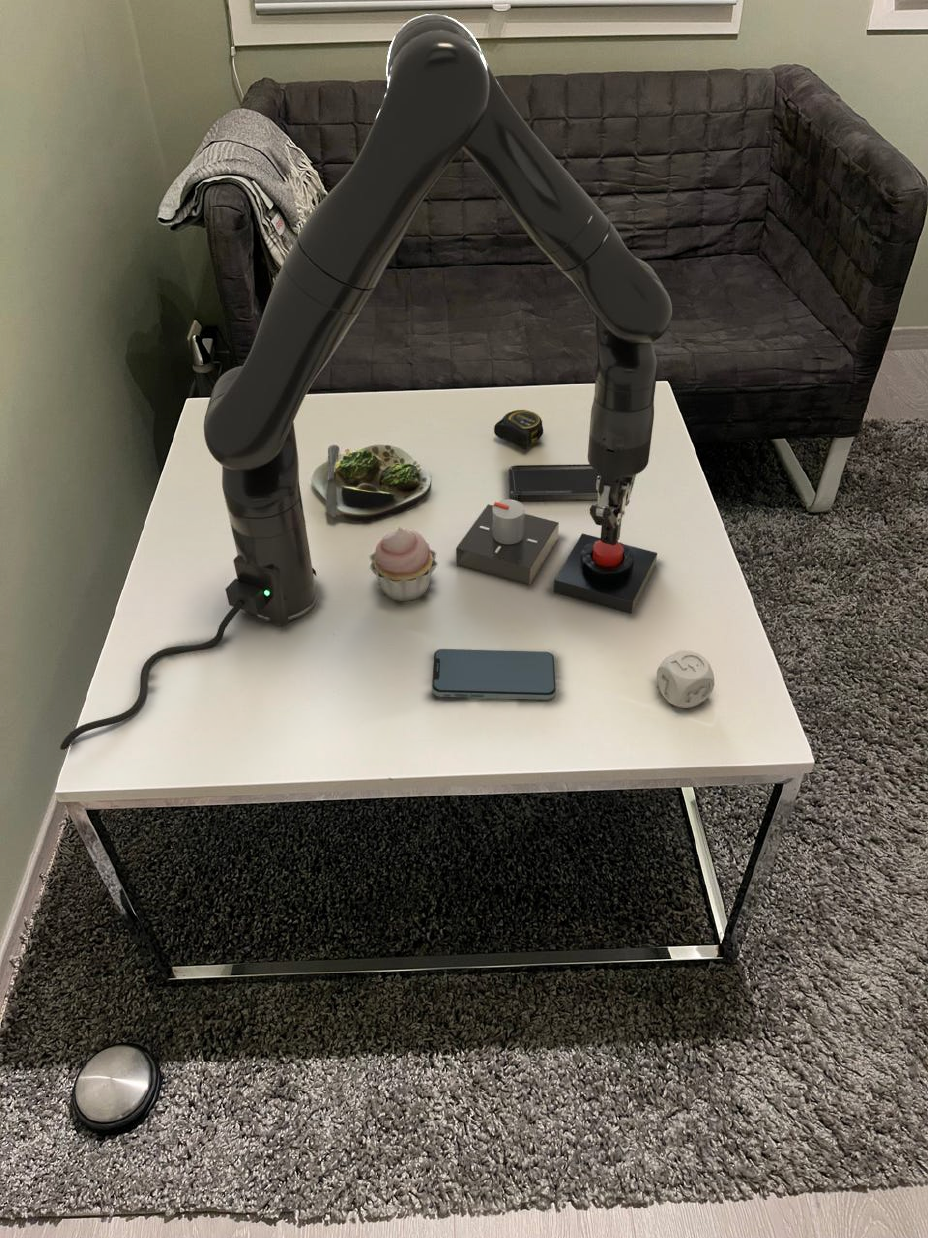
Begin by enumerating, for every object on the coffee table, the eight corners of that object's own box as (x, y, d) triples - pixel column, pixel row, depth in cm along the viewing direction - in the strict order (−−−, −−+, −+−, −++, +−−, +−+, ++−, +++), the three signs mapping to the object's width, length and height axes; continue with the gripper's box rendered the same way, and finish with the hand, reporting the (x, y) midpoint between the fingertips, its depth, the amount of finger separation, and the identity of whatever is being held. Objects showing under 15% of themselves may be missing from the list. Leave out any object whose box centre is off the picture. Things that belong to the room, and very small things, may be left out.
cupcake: (428, 558, 143) (424, 501, 136) (447, 600, 136) (445, 542, 129) (363, 572, 141) (357, 515, 134) (380, 616, 134) (374, 558, 127)
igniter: (631, 614, 134) (634, 591, 131) (553, 592, 137) (554, 569, 134) (655, 564, 141) (659, 542, 138) (581, 544, 144) (582, 522, 142)
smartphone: (556, 694, 122) (431, 691, 122) (555, 703, 123) (431, 700, 123) (553, 649, 127) (434, 646, 127) (552, 659, 128) (434, 656, 128)
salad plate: (285, 470, 159) (281, 445, 156) (386, 436, 165) (384, 412, 162) (339, 536, 147) (335, 510, 144) (445, 496, 153) (444, 471, 150)
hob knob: (529, 530, 142) (530, 502, 139) (515, 548, 139) (515, 520, 136) (501, 521, 144) (501, 494, 140) (486, 538, 141) (486, 511, 138)
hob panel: (529, 585, 138) (530, 567, 136) (456, 564, 142) (455, 547, 139) (558, 538, 145) (559, 521, 143) (487, 520, 149) (487, 502, 147)
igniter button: (616, 570, 135) (618, 560, 133) (588, 563, 136) (589, 553, 135) (626, 553, 137) (627, 543, 136) (598, 545, 138) (599, 535, 137)
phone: (508, 465, 157) (605, 463, 157) (508, 471, 158) (604, 469, 157) (510, 495, 151) (610, 494, 151) (510, 501, 152) (610, 500, 152)
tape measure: (491, 440, 164) (491, 420, 162) (519, 422, 168) (519, 403, 165) (523, 456, 161) (524, 436, 158) (551, 438, 164) (552, 418, 162)
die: (654, 685, 124) (658, 657, 121) (688, 673, 126) (694, 644, 122) (676, 713, 121) (681, 685, 117) (711, 700, 122) (717, 671, 119)
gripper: (608, 396, 128) (599, 506, 140) (572, 450, 119) (565, 563, 131) (666, 408, 126) (651, 519, 138) (633, 465, 117) (621, 578, 129)
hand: (609, 540), depth 134 cm, fingers closed
